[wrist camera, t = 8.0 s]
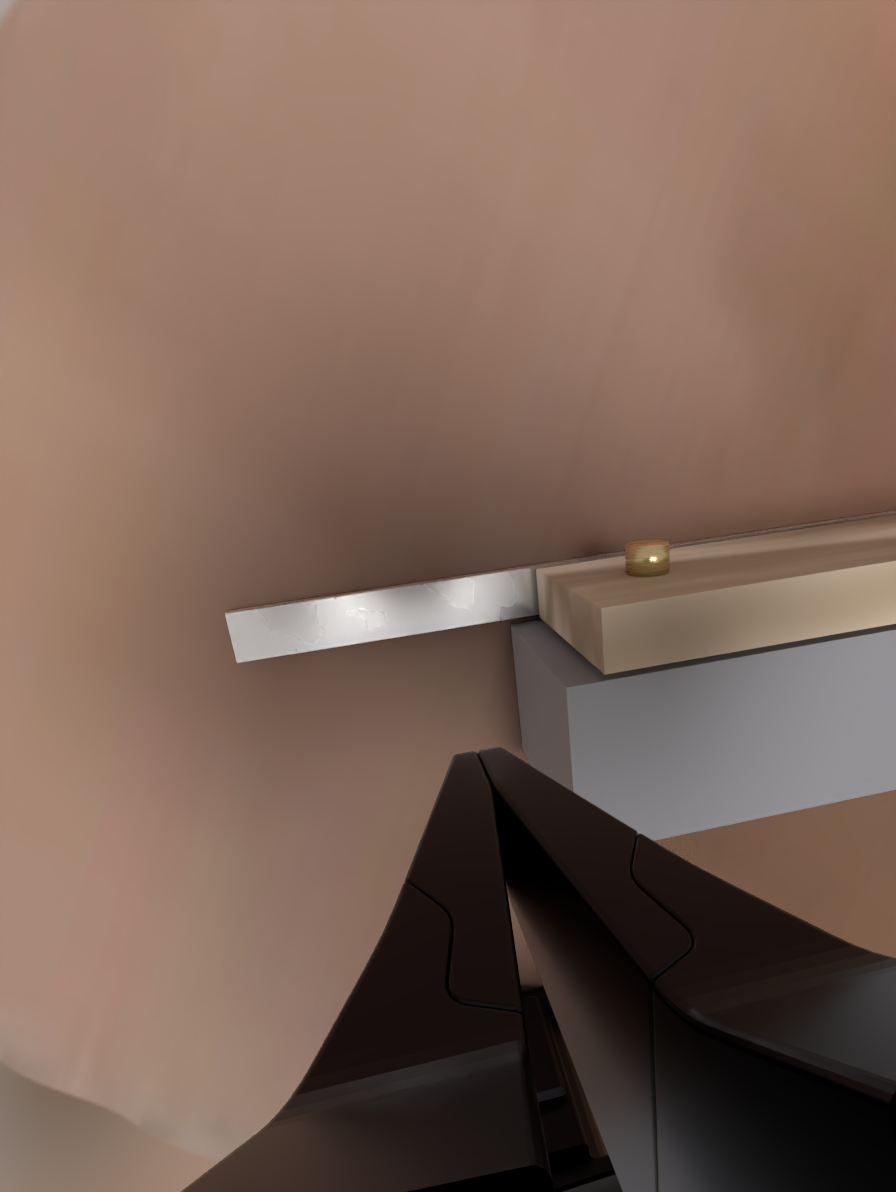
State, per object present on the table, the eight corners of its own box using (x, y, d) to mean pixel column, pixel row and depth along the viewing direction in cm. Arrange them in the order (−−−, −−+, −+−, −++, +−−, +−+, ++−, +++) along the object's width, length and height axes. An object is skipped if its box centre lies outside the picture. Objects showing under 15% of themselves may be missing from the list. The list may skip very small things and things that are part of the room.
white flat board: (955, 544, 23) (1175, 570, 17) (240, 658, 20) (174, 745, 13) (960, 500, 22) (1190, 510, 16) (228, 610, 19) (154, 676, 13)
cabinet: (918, 676, 24) (1104, 745, 18) (522, 750, 22) (578, 856, 16) (933, 552, 23) (1141, 581, 17) (510, 621, 21) (565, 682, 15)
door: (936, 553, 22) (1136, 581, 16) (540, 617, 20) (604, 674, 14) (944, 483, 21) (1157, 487, 15) (533, 543, 19) (599, 573, 14)
